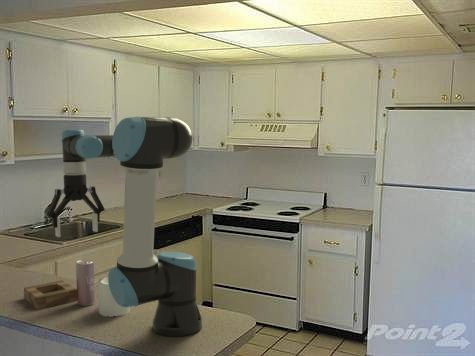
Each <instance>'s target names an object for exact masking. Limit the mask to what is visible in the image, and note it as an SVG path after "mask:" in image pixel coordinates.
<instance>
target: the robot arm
mask: <svg viewBox="0 0 475 356" xmlns="http://www.w3.org/2000/svg"><path fill="white" fill-rule="evenodd" d="M112 134H113V135H112ZM112 134H111V135H110V134H109V135H108V134H107V135H105V134H102V135H100V134H98V135H97V134H96V135H94V134H93V135H92V134H91V135H90V134H89V135H87V134H86V135H85V131H84V130H83V129H64V130H63V131H62V133H61V146H62V166H63V167H62V170H63V174H64V175H63V189H59V188H55V189H54V196H53V198H52V201H51V202H50V205H49V207H48V210H47V212H46V217H48V218H51V221H52V224H51V225H52V228H54V230H55V232H54V234H55V237H57V238H61V237H62V236H61V218H60V214H61V213H62V212H63V210H64V209H65V208H66V207H67V205H68V204H69V203H70V202H71V201H72V202H76V201H83V202H84V203H85V204H86V205H87V206H89V208H90V209H91V210H92V211H93V212H92V213H91V219H92V220H91V221H92V231H93V232H95V233H98V232H99V230H98V229H99V228H98V227H99V225H98V224H99V223H100V221H101V218H100V216H101V215H100V214H101V213H102V212H104V211H105V210H106V209H105V207H104V205H103V203H102V201H101V199H100V197H99V195H98V193H97V190H96V187H95V186H94V185H93V186H92V185H90V186H88V187H87V175H86V174H85V173H86V172H87V163H86V162H87V161H86V160H89V159H90V160H91V159H95V158H96V159H97V158H100V159H101V158H115V159H116V160H117V161H120V163H119V167H121V168H122V169H123V170H124V172H125V178H124V179H125V180H124V181H125V182H124V207H123V209H124V210H123V234H122V235H123V236H122V253H121V254H120V255H119V256H117V258H116V267H113V268H111V269H109V271H108V275H107V277H108V283H109V288H110V291H111V294H112V296H113V298H114V300H115V301H116V302H117V304H118V305H120V306H121V307H125V308H126V307H130V308H131V307H132V308H133V307H138V306H140V305H141V306H142V305H143V304H147V303H148V304H149V303H152V302H156V301H157V302H158V303H157V306H156V310H155V313H154V316H153V319H152V330H153V332H155V333H156V334H158V335H161V336H163V337H185V336H189V335H193V334H195V333H197V332H199V331H200V330H201V329H202V327H203V318H202V314H201V313H200V309H199V306H198V304H197V264H196V258H195V257H194V256H193V255H192V254H189V253H184V252H178V251H161V252H159V253H158V254H157V255H155V254H154V247H155V246H154V245H155V243H154V242H155V226H156V221H155V220H156V201H157V185H158V184H157V181H158V173H159V172H160V171H161V170H162V169H163V167H164V159H165V160H166V159H176V158H179V157H182V156H183V155H185V154H186V153H187V152H188V151H189V150H190V149H191V146H192V144H193V140H194V139H193V133H192V130H191V128H190V127H189V125H188V124H187V123H186V122H184V121H183V120H182V119H179V118H176V117H171V116H169V117H168V116H167V117H166V116H165V117H164V116H163V117H162V116H160V117H157V116H156V117H155V116H132V117H125V118H123V119H122V120H120V121H119V122H118V123H117V125H116V126H115V129H114V131H113V133H112ZM88 192H89V194H90V196H91V198H92V199H93V201H94V202H93V201H91V199H90V198H89V196H88V195H86V194H87V193H88ZM63 194H64V196H63ZM61 196H63V199H62V201H61V202H60V200H61V199H60V198H61ZM59 202H60V203H59ZM58 203H59V205H58ZM94 203H95V204H94Z"/></svg>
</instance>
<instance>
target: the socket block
mask: <svg viewBox="0 0 475 356" xmlns="http://www.w3.org/2000/svg"><path fill="white" fill-rule="evenodd" d="M23 299H24V300H26V302H28V303H29V304H30V305H31V306H33V307H34V308H35V309H36V310H41V309H45V308H46V309H47V308H50V307H55V306H59V305H63V304H67V302H68V303H73V302H77V287H74V286H72V285H71V284H69V283H67V282H66V281H64V280H62V279H61V280H57V281H52V282H47V283H42V284H37V285H31V286H26V287H23Z"/></svg>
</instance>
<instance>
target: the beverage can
mask: <svg viewBox="0 0 475 356" xmlns="http://www.w3.org/2000/svg"><path fill="white" fill-rule="evenodd" d="M75 263H76V264H75V276H76V277H75V278H76V289H77V301H76V303H77V305H79V306H80V307H89V306H92V305H93V304H94V303H95V302H96V296H95V295H96V294H95V292H96V291H95V263H94V260H93V259H81V260H77V261H76V262H75Z"/></svg>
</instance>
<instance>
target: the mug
mask: <svg viewBox="0 0 475 356" xmlns="http://www.w3.org/2000/svg"><path fill="white" fill-rule="evenodd" d="M97 283H98V284H97V287H98V313H99V314H101V315H100V316H102V315H103V317H107V316H109V318H111V317H112V318H114V317H113V316H116V317H122V316H124V315H125V316H126V315H127V314H129V313H130V312H131V307H126V308H125V307H121V306H120V305H118V304H117V302H116V301H115V300H114V298H113V296H112V294H111V291H110V288H109V283H108V276H105V277H101V278H100V279H99V280H98V282H97Z"/></svg>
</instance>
